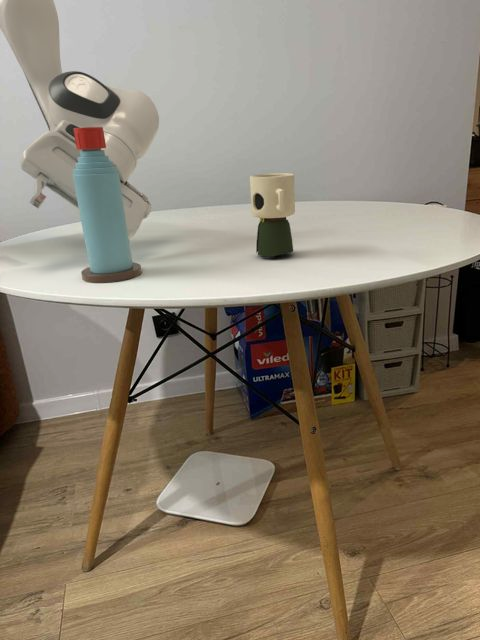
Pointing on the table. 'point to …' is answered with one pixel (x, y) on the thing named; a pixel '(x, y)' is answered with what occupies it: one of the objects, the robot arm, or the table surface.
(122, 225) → the bottle
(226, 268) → the table surface
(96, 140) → the cap
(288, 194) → the character mug
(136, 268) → the coaster
